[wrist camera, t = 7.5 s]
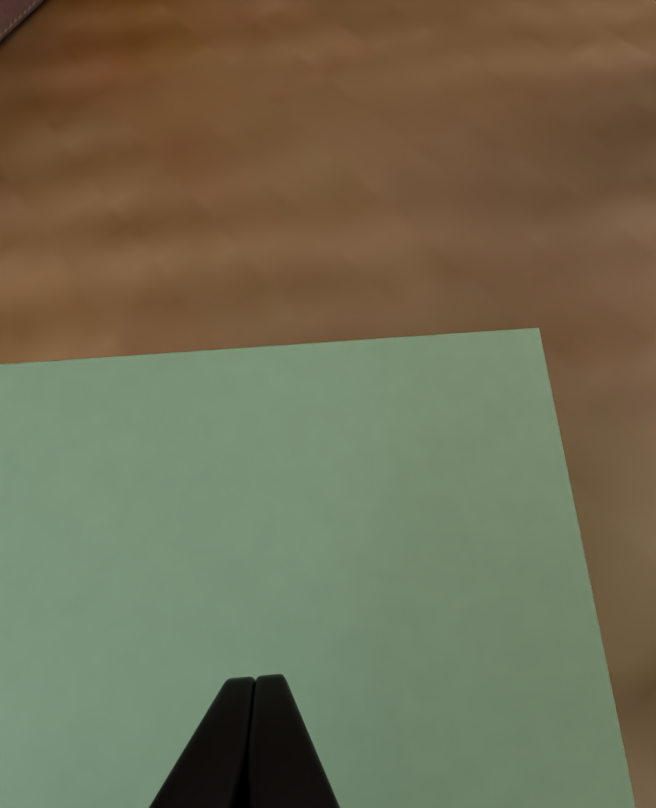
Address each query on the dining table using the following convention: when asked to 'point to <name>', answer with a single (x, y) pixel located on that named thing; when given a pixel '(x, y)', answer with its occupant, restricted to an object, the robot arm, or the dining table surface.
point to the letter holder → (14, 14)
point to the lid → (301, 572)
